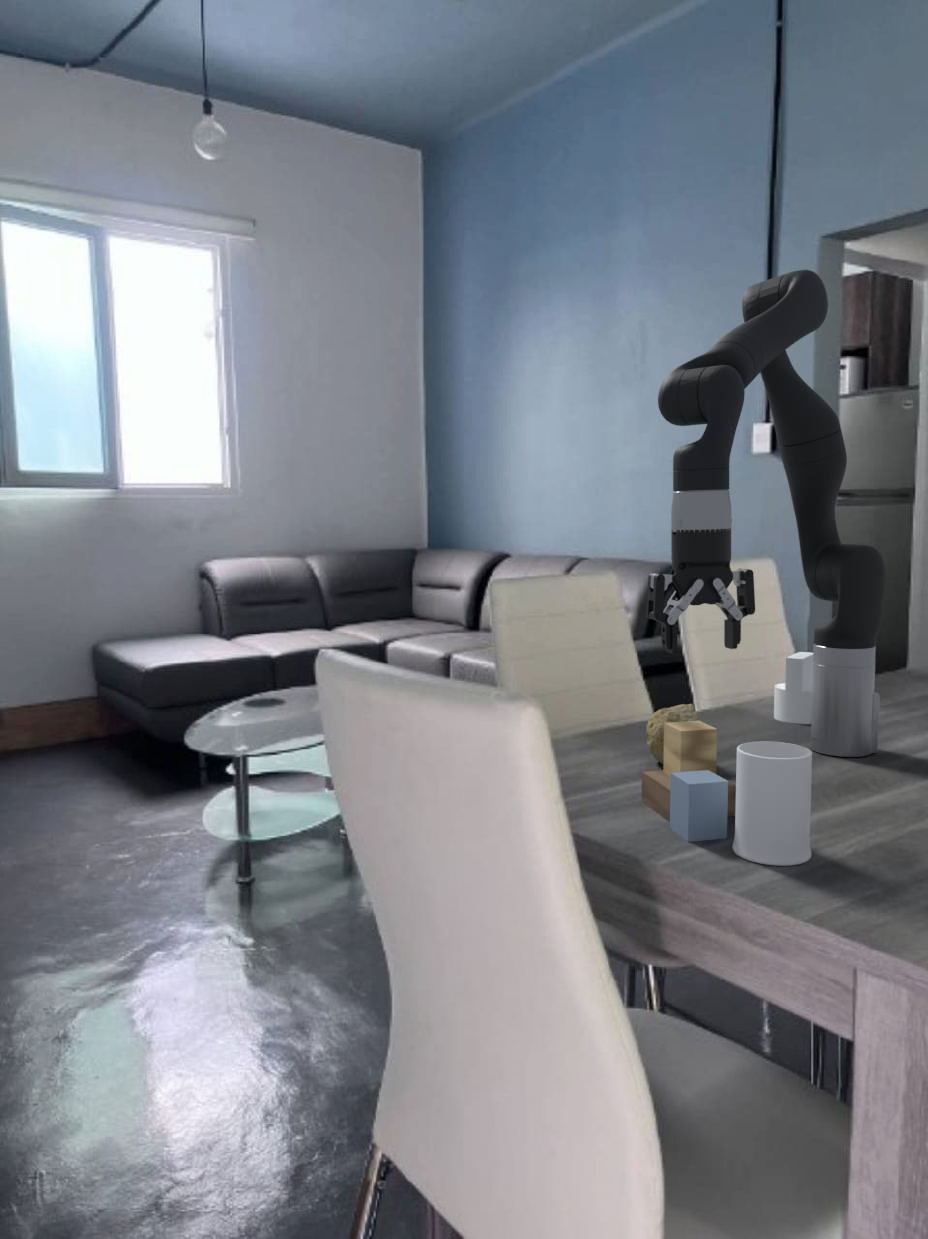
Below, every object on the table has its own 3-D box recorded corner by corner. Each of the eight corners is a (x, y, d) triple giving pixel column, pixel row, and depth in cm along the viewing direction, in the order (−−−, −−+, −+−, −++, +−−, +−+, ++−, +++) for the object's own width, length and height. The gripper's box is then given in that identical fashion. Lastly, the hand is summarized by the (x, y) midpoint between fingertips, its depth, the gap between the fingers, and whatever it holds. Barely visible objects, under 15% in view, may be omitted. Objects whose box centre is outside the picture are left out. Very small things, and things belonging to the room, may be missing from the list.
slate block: (707, 824, 115) (708, 769, 114) (726, 838, 110) (728, 781, 110) (669, 828, 114) (670, 772, 113) (688, 842, 109) (688, 784, 109)
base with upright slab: (782, 711, 180) (783, 650, 179) (830, 717, 175) (832, 654, 173) (767, 720, 173) (769, 656, 171) (817, 726, 168) (819, 660, 166)
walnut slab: (703, 795, 127) (703, 767, 127) (735, 816, 118) (736, 785, 118) (641, 800, 125) (641, 771, 125) (670, 821, 116) (670, 790, 116)
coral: (730, 726, 138) (669, 700, 137) (700, 786, 140) (640, 760, 139) (714, 708, 147) (657, 684, 147) (686, 764, 149) (630, 740, 148)
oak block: (698, 771, 124) (698, 720, 124) (716, 782, 119) (717, 728, 119) (663, 774, 123) (664, 722, 122) (680, 785, 118) (680, 731, 118)
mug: (732, 827, 114) (734, 732, 113) (806, 833, 112) (809, 736, 110) (732, 862, 103) (734, 756, 101) (814, 869, 100) (817, 761, 99)
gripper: (736, 524, 125) (735, 643, 127) (637, 527, 122) (638, 650, 124) (766, 524, 118) (765, 651, 120) (662, 528, 114) (663, 658, 116)
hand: (701, 650), depth 122 cm, fingers open, 8 cm apart
